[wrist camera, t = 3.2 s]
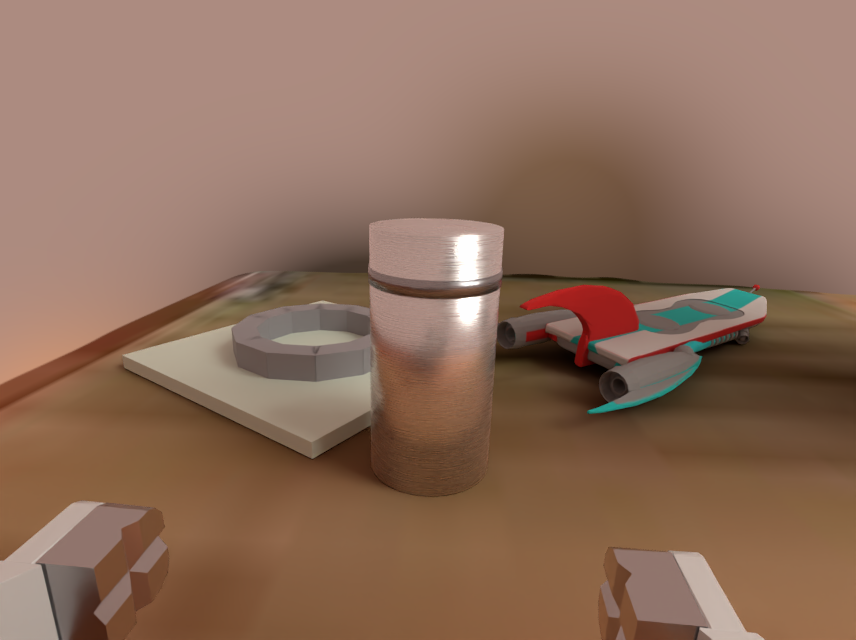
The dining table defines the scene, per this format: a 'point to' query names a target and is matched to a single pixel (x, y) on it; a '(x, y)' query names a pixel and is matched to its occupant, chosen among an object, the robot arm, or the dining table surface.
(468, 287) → the piston
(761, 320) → the toy spaceship
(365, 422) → the ring plate
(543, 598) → the dining table surface
